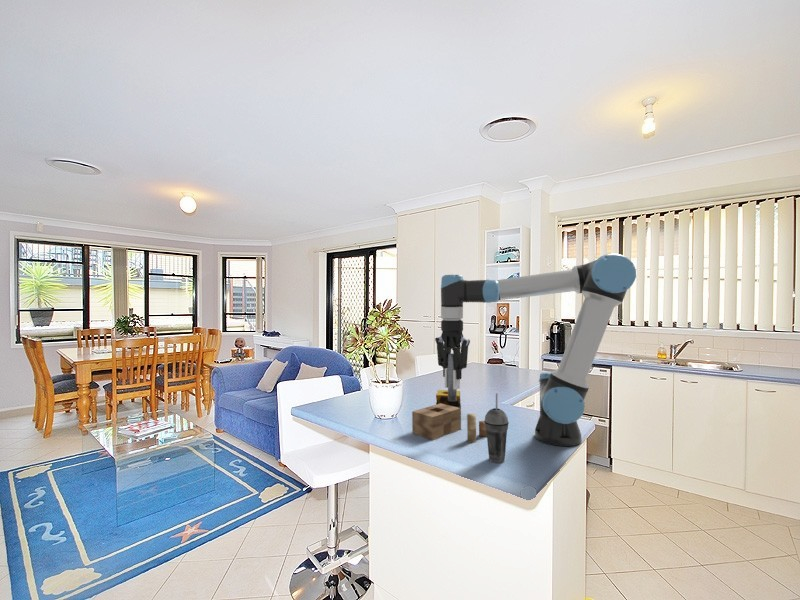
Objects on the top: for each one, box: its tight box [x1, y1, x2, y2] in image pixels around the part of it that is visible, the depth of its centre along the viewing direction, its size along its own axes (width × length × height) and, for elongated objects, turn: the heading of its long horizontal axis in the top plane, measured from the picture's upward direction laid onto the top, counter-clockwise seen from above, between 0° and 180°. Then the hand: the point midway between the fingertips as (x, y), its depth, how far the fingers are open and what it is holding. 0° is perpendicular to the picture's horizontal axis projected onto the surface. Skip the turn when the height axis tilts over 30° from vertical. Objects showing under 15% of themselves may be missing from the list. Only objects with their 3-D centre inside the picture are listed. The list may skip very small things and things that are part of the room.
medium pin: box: [466, 413, 477, 443], centre depth 134 cm, size 3×3×9 cm
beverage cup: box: [483, 393, 510, 464], centre depth 118 cm, size 7×7×20 cm
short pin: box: [478, 420, 487, 438], centre depth 139 cm, size 3×3×5 cm
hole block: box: [411, 403, 462, 441], centre depth 144 cm, size 10×16×8 cm, turn 134°
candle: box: [435, 389, 462, 409], centre depth 163 cm, size 10×10×10 cm
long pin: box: [447, 352, 458, 402], centre depth 133 cm, size 3×3×16 cm
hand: (452, 387), depth 133 cm, fingers closed on long pin, 3 cm apart
